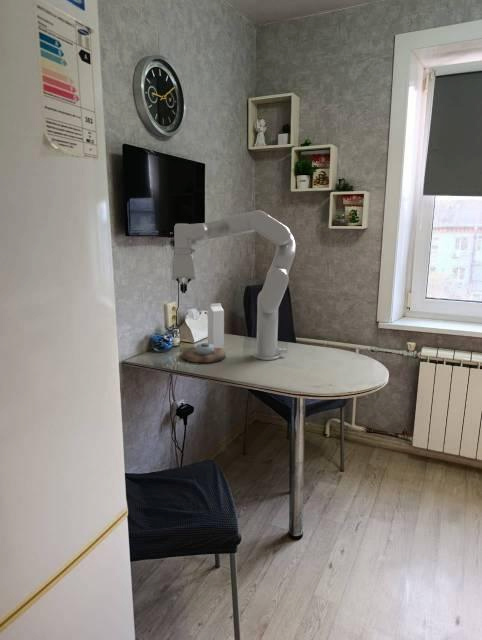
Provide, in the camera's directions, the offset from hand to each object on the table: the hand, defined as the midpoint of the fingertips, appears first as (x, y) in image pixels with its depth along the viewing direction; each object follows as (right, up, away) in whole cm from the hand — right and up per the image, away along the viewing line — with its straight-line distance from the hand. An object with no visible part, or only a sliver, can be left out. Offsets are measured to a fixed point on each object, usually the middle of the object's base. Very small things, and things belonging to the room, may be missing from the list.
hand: (183, 292), depth 197 cm
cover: (+10, -27, +2) cm, 29 cm away
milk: (+13, -26, +19) cm, 35 cm away
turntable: (+9, -29, +2) cm, 31 cm away
